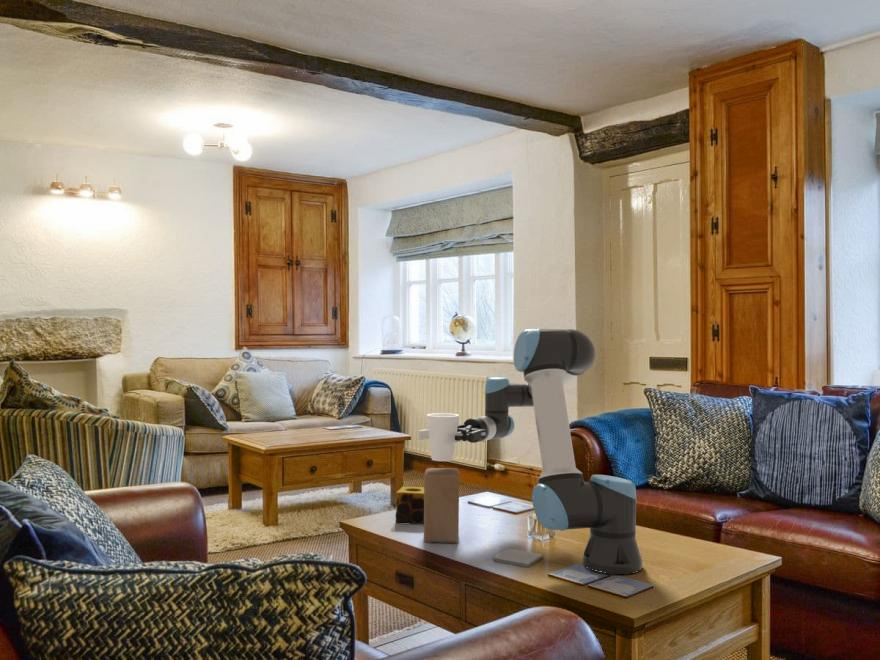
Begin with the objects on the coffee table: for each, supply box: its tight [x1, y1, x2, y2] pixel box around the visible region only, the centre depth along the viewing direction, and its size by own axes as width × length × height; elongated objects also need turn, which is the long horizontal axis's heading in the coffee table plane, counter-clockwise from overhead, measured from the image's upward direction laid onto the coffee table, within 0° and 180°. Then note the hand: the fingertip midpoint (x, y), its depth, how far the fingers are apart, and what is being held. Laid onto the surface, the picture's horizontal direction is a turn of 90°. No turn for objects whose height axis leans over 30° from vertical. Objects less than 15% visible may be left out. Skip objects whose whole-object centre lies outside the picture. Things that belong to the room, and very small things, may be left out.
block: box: [423, 467, 460, 544], centre depth 226 cm, size 10×10×20 cm
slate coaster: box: [493, 548, 544, 568], centre depth 207 cm, size 10×10×1 cm
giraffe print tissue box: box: [395, 486, 424, 525], centre depth 247 cm, size 10×10×10 cm
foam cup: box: [426, 412, 460, 462], centre depth 226 cm, size 10×9×13 cm
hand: (432, 437), depth 222 cm, fingers closed on foam cup, 9 cm apart
